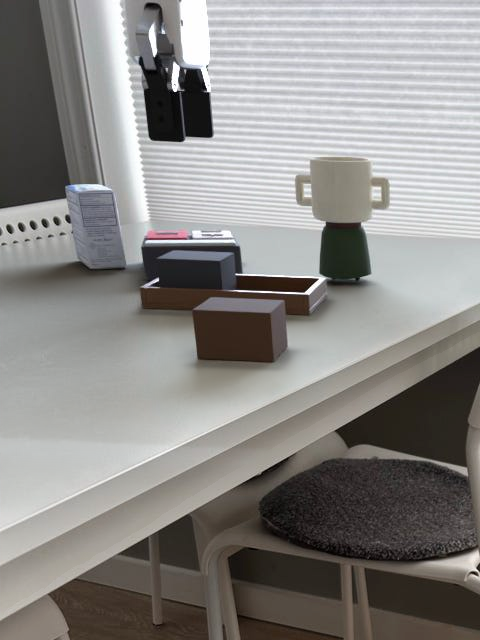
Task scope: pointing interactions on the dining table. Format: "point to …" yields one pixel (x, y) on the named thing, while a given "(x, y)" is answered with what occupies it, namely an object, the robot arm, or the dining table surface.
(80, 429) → the dining table surface
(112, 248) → the medicine box
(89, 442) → the dining table surface
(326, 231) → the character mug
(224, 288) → the pad
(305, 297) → the tray
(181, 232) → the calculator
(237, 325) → the pad
